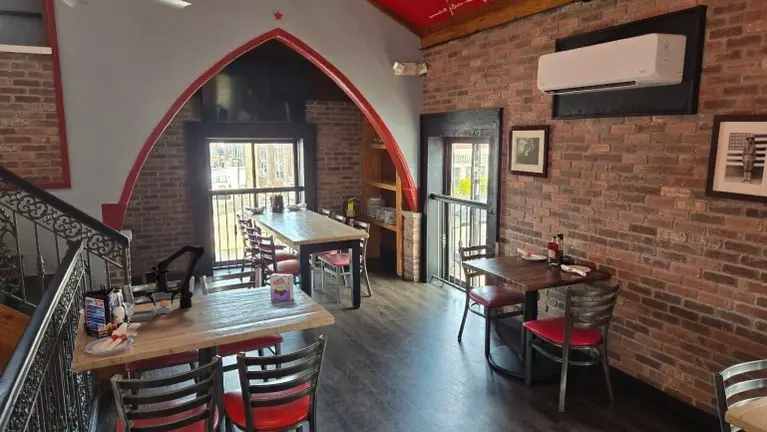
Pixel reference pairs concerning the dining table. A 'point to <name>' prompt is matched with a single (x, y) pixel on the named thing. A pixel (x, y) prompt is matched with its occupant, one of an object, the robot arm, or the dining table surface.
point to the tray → (142, 315)
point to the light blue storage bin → (164, 309)
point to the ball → (163, 303)
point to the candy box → (281, 287)
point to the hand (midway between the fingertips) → (163, 305)
